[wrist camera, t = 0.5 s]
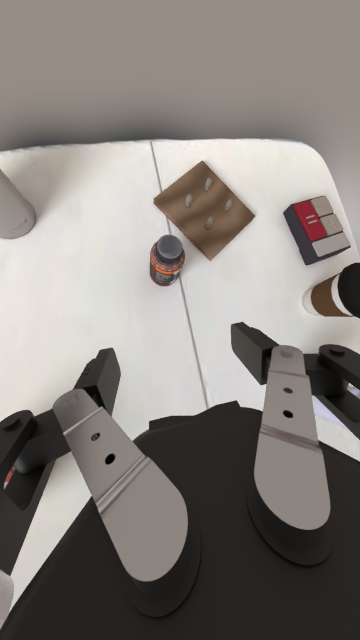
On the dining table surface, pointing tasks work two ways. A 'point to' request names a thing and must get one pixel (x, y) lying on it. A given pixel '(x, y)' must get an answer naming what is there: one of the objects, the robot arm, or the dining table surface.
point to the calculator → (316, 229)
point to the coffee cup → (336, 295)
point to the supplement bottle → (166, 260)
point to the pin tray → (204, 209)
